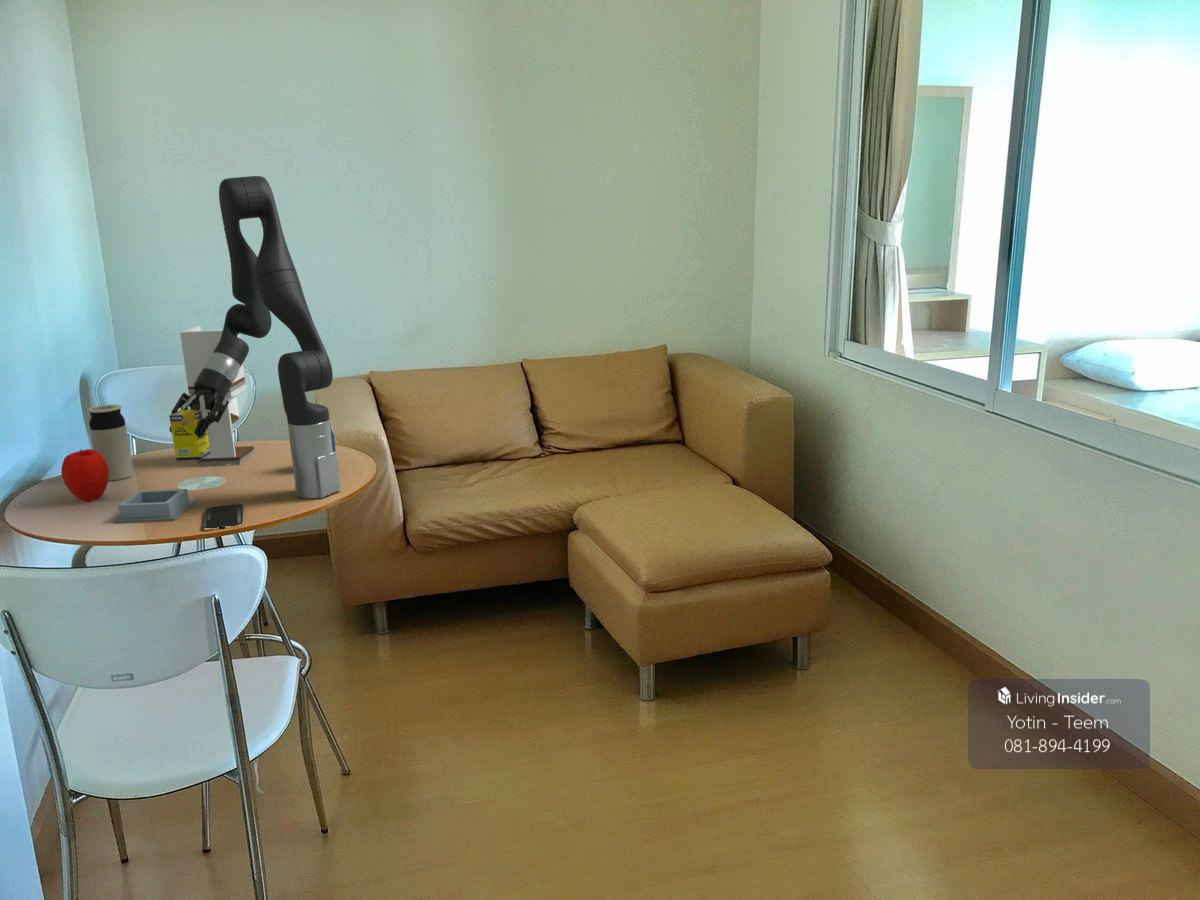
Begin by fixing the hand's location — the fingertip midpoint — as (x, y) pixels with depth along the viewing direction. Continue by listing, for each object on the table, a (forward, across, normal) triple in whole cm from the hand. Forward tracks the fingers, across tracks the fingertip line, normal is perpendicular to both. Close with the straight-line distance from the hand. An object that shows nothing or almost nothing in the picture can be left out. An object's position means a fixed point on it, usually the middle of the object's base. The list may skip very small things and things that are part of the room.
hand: (185, 434), depth 229 cm
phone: (+18, +21, +4) cm, 28 cm away
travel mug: (+8, -32, +12) cm, 36 cm away
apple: (+19, -21, +2) cm, 28 cm away
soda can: (-10, +12, +31) cm, 35 cm away
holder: (+19, +3, +1) cm, 20 cm away
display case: (-8, -19, +29) cm, 35 cm away
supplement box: (+3, 0, +5) cm, 6 cm away
